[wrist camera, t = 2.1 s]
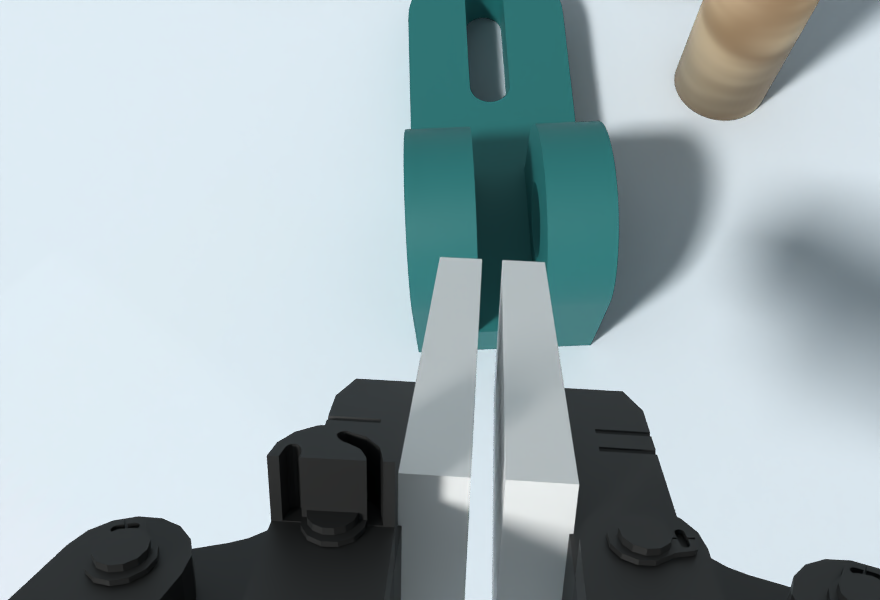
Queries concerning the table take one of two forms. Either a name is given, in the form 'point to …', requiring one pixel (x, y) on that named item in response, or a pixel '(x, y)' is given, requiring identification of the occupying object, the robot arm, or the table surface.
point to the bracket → (506, 168)
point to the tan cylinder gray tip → (737, 53)
